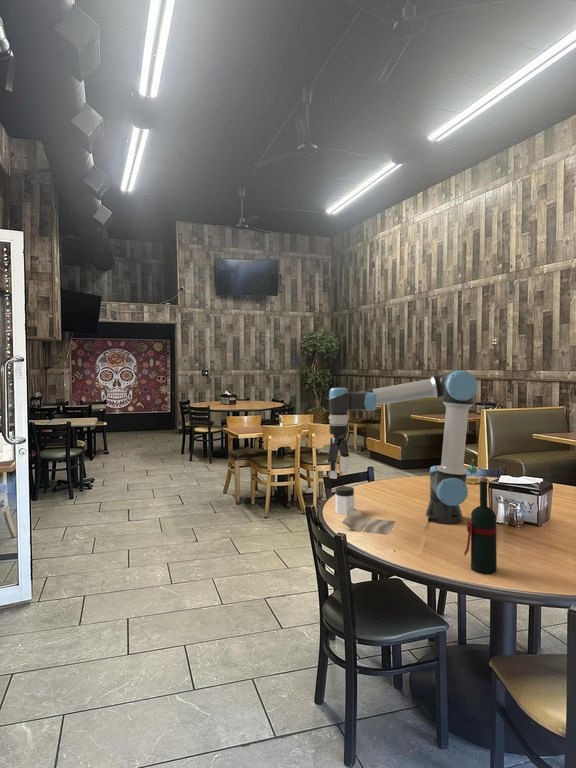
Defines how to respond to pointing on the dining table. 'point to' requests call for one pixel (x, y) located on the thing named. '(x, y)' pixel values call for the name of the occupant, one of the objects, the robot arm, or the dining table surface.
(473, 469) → the frog figurine
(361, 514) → the plank
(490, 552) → the wine bottle
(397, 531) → the dining table surface
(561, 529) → the dining table surface
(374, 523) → the grey flat panel
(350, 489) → the jar
